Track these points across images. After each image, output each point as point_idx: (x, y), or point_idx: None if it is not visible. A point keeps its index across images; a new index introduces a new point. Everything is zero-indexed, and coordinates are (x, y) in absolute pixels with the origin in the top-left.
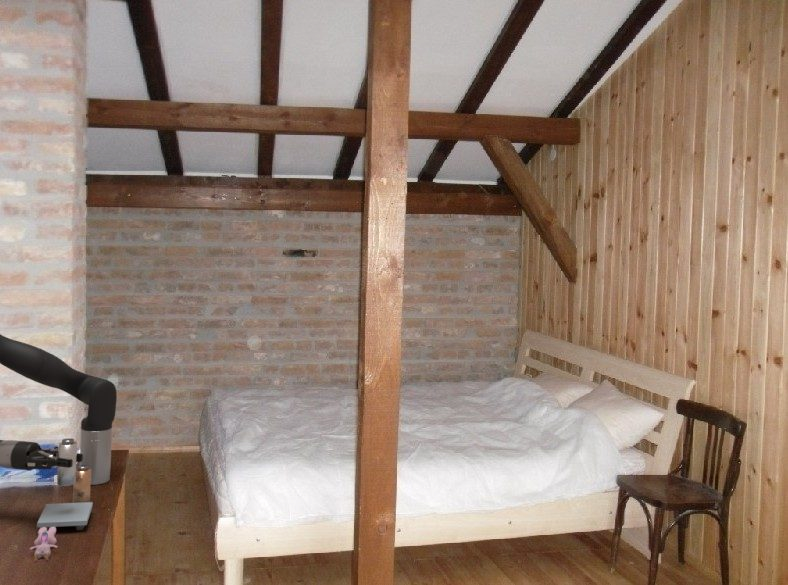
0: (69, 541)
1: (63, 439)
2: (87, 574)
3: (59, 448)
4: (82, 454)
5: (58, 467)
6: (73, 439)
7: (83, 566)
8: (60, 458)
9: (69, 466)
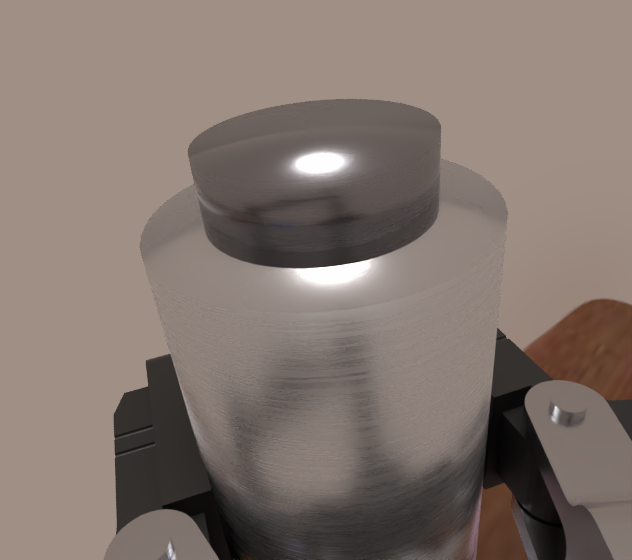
0: (514, 528)
1: (354, 165)
2: (590, 302)
3: (501, 280)
4: (147, 361)
5: (477, 539)
6: (229, 122)
7: (577, 337)
8: (500, 370)
9: None
